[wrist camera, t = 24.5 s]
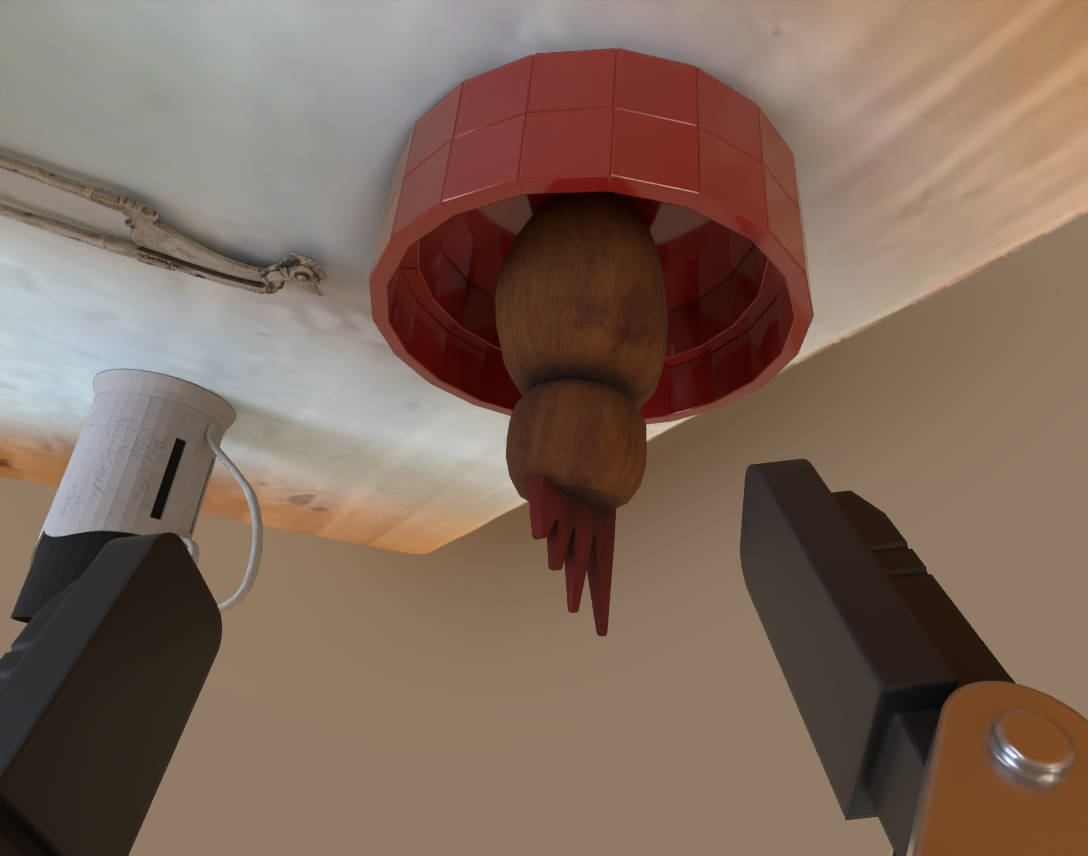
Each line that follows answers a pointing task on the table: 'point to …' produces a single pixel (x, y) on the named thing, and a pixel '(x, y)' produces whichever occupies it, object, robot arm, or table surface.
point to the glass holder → (134, 479)
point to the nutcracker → (162, 240)
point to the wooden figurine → (581, 375)
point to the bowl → (621, 171)
